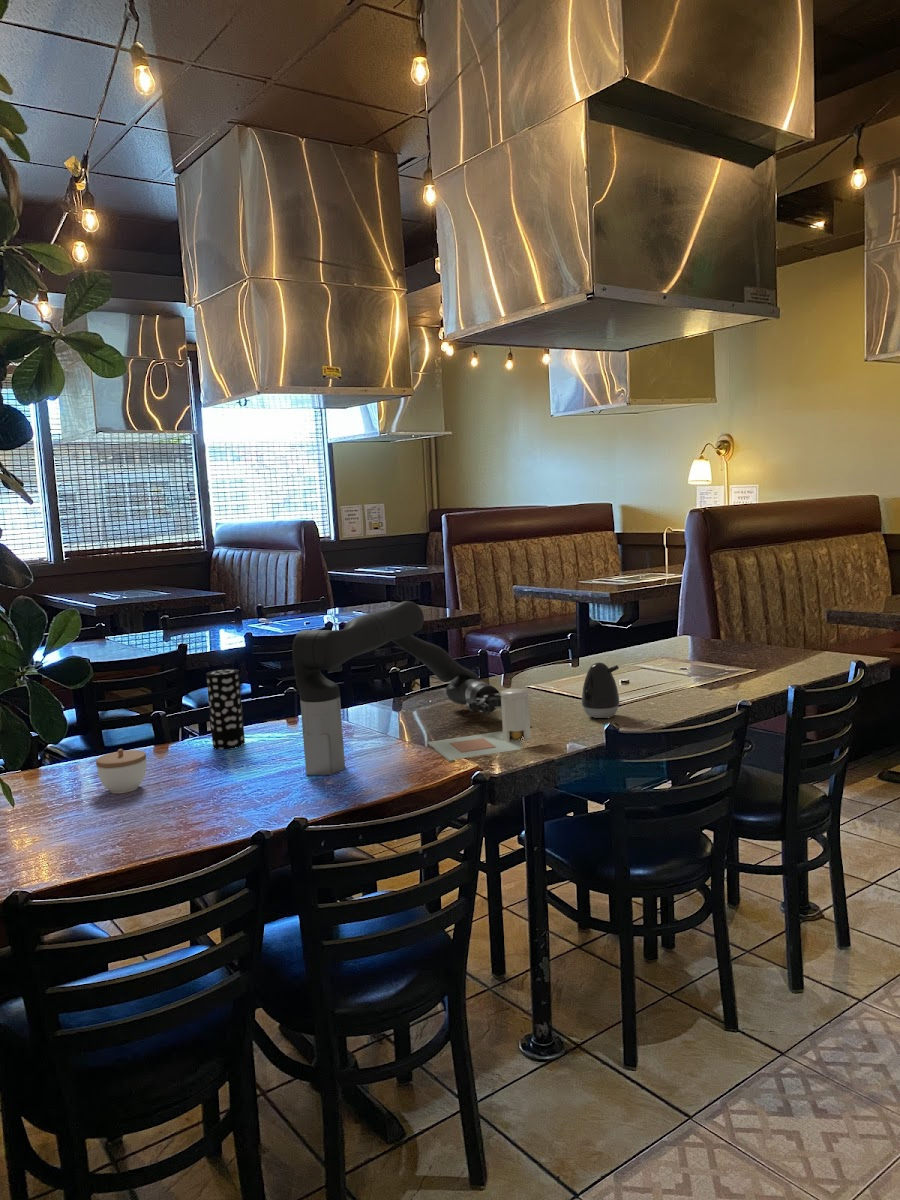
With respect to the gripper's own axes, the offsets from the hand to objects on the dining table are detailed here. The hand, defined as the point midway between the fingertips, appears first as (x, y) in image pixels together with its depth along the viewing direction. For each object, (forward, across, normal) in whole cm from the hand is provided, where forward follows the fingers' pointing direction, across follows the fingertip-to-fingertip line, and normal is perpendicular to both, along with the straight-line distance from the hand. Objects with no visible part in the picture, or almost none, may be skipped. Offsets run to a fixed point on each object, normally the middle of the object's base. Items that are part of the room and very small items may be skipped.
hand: (504, 707), depth 227 cm
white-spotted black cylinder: (-28, -68, +7) cm, 74 cm away
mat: (+7, -6, +7) cm, 12 cm away
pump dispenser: (-3, +30, +7) cm, 31 cm away
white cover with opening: (+7, 0, +7) cm, 10 cm away
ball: (+7, 0, +5) cm, 9 cm away
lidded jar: (-1, -94, +8) cm, 94 cm away
